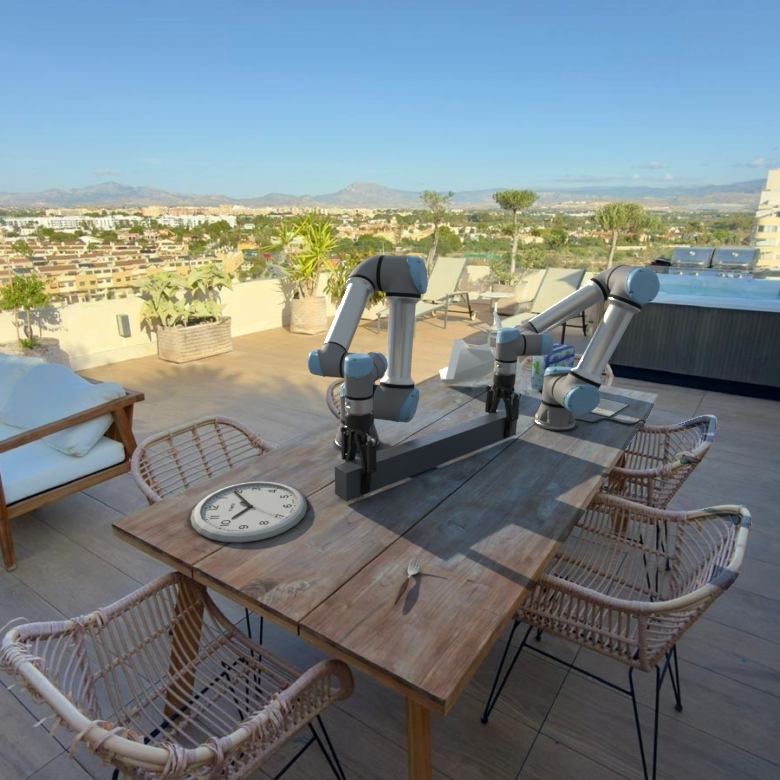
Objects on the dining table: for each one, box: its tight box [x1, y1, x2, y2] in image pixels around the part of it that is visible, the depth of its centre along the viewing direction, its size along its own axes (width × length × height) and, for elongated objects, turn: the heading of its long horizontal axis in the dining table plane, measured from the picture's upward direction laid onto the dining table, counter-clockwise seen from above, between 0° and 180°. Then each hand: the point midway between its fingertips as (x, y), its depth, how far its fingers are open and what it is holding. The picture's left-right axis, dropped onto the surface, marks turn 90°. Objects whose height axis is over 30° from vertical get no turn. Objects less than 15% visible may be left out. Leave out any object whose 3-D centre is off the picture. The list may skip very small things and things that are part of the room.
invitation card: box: [590, 397, 629, 418], centre depth 226 cm, size 21×1×15 cm
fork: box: [393, 553, 424, 606], centre depth 112 cm, size 3×16×2 cm, turn 160°
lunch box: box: [530, 343, 576, 391], centre depth 249 cm, size 26×11×21 cm, turn 134°
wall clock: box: [190, 481, 308, 544], centre depth 139 cm, size 30×2×30 cm
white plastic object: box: [438, 310, 531, 397], centre depth 245 cm, size 37×45×31 cm
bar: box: [334, 408, 518, 502], centre depth 167 cm, size 77×5×9 cm, turn 131°
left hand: (358, 488), depth 148 cm, fingers closed on bar, 5 cm apart
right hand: (499, 434), depth 188 cm, fingers closed on bar, 5 cm apart
